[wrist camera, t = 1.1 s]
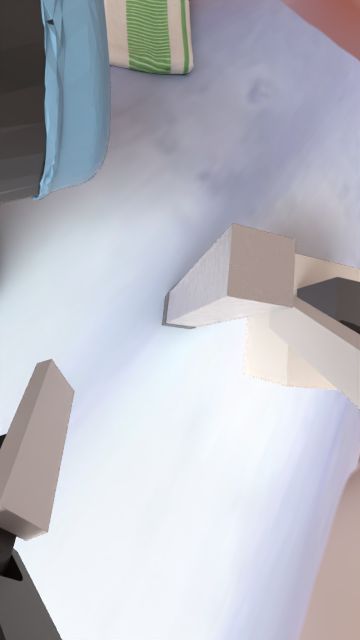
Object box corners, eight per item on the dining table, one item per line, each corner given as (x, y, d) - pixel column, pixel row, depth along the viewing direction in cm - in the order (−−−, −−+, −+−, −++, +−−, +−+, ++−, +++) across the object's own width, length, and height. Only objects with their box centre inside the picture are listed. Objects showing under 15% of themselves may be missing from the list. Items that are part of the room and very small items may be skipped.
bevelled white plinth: (243, 374, 30) (287, 386, 22) (250, 274, 31) (293, 252, 24) (311, 380, 32) (371, 392, 24) (314, 287, 34) (371, 271, 26)
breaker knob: (294, 346, 22) (336, 347, 18) (296, 289, 23) (337, 276, 19) (318, 349, 23) (364, 351, 19) (320, 293, 24) (364, 282, 19)
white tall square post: (161, 325, 28) (225, 296, 10) (165, 296, 28) (231, 222, 11) (190, 328, 28) (293, 308, 11) (193, 300, 29) (296, 238, 11)
